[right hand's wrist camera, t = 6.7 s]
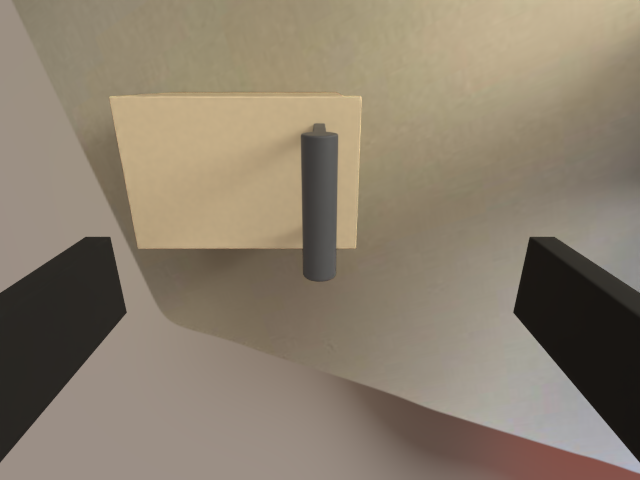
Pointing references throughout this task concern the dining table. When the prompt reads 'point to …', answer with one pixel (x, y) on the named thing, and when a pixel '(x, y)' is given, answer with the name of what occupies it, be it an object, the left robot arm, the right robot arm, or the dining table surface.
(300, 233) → the lid
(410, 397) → the dining table surface
